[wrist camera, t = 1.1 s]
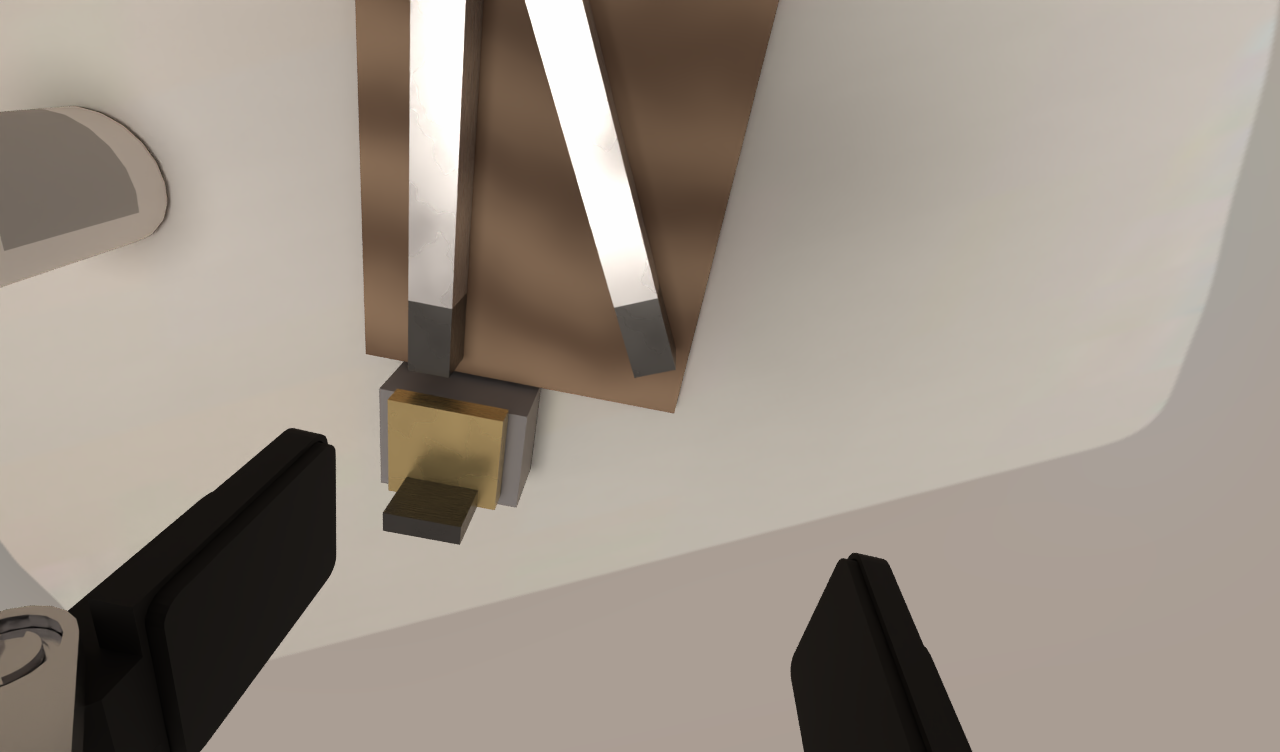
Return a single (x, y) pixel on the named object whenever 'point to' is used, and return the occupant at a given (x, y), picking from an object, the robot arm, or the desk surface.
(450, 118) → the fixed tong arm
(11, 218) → the spray bottle
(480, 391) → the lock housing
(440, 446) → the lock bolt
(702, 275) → the tong board
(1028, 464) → the desk surface
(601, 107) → the tong arm
